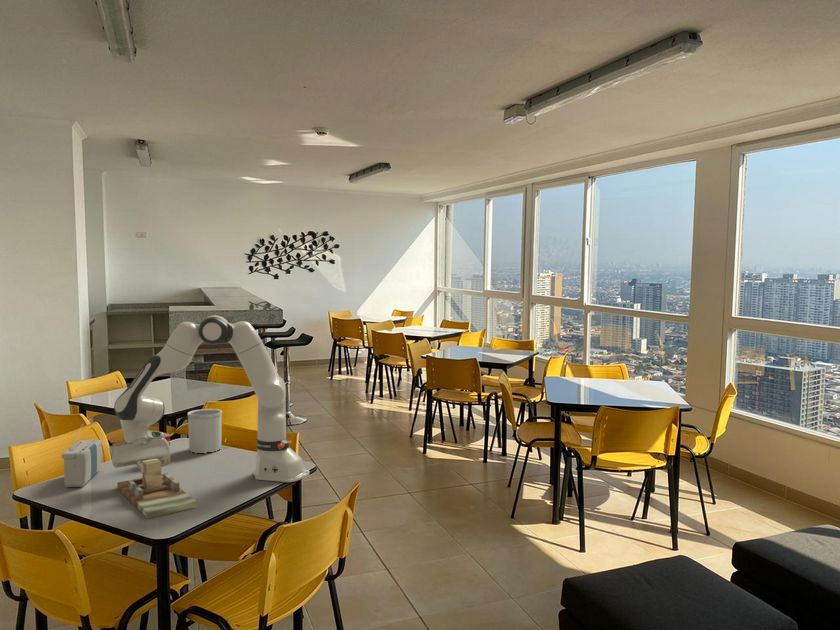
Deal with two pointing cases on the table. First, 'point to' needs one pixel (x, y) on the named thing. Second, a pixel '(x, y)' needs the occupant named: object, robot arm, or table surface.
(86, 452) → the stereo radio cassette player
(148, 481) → the wood block
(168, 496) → the track
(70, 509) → the table surface
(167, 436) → the canned food
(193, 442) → the utensil holder
